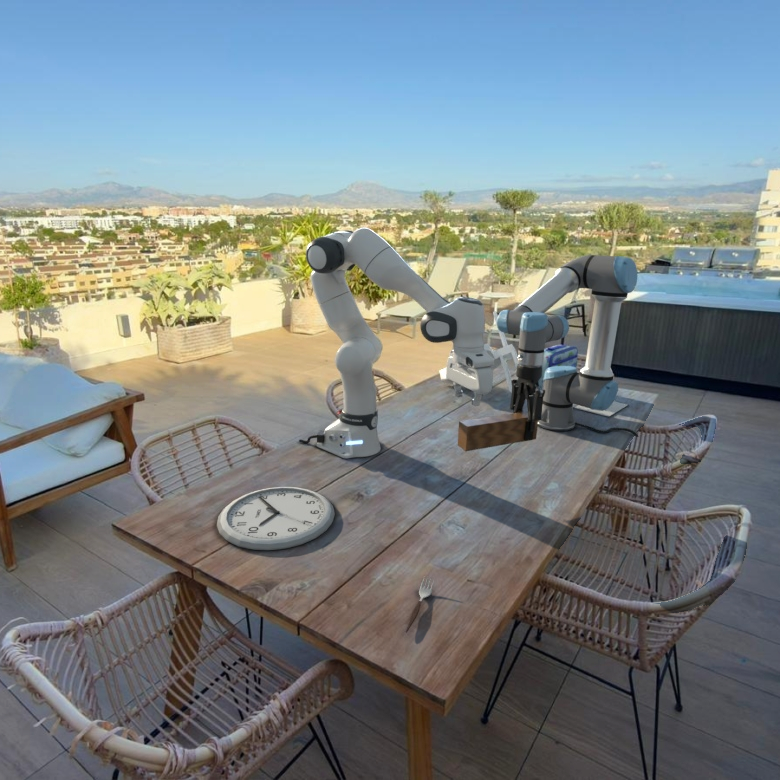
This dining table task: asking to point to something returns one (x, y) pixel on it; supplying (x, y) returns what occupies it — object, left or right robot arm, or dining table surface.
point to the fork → (423, 593)
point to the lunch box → (558, 358)
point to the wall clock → (275, 518)
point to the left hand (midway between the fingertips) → (467, 400)
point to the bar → (493, 431)
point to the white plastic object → (495, 358)
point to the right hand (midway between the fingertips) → (522, 436)
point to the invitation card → (608, 412)
